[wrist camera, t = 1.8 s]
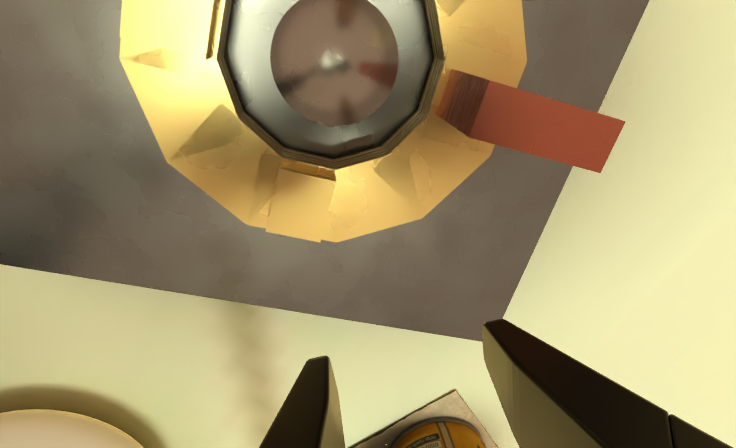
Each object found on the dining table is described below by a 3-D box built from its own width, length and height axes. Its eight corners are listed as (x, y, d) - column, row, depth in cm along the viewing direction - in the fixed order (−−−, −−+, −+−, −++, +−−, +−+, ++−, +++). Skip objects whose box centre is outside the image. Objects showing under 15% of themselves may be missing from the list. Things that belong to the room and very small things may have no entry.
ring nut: (123, 184, 17) (59, 242, 13) (160, -251, 12) (79, -404, 8) (478, 257, 20) (527, 323, 16) (611, -66, 16) (733, -101, 11)
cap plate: (15, 246, 19) (-53, 297, 16) (9, -520, 11) (-129, -774, 8) (480, 324, 24) (511, 378, 21) (701, -174, 16) (815, -231, 13)
